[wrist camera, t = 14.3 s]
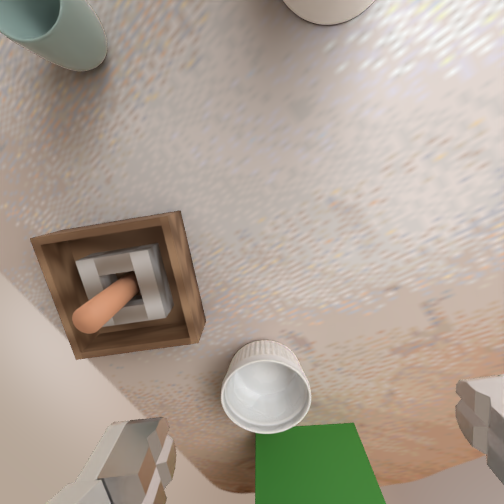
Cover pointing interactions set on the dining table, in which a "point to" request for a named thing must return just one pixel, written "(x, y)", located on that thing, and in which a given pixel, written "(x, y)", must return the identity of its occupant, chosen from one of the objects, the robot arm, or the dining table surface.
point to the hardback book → (314, 467)
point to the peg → (105, 304)
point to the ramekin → (265, 388)
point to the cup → (56, 31)
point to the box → (113, 268)
